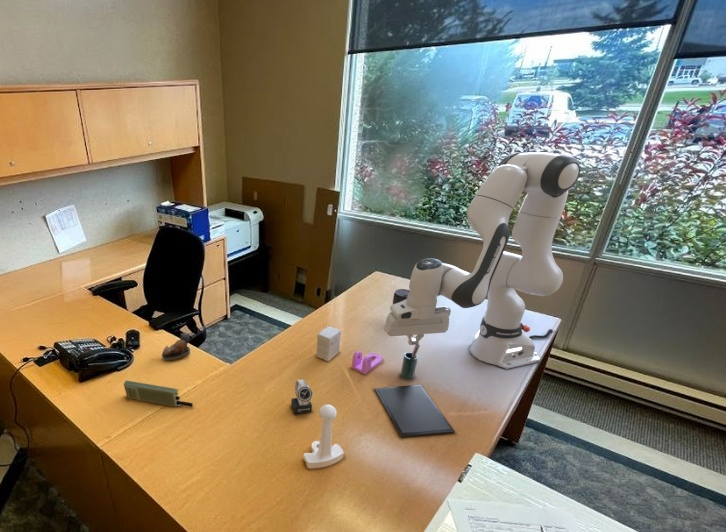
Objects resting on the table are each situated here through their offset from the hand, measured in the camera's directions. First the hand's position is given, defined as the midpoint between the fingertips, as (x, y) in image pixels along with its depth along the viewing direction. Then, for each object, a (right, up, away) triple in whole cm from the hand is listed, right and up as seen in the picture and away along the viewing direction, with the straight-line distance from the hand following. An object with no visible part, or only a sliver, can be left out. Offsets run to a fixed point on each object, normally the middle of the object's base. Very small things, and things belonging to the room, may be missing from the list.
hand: (413, 343), depth 141 cm
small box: (-24, -6, +22) cm, 33 cm away
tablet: (-4, -21, -8) cm, 23 cm away
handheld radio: (-87, -21, +3) cm, 89 cm away
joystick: (-36, -31, -22) cm, 52 cm away
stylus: (+1, -11, +8) cm, 13 cm away
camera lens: (+12, +6, +38) cm, 40 cm away
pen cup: (+1, -12, +7) cm, 14 cm away
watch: (-39, -21, -4) cm, 45 cm away
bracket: (-10, -9, +14) cm, 20 cm away
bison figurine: (-83, -7, +27) cm, 88 cm away
